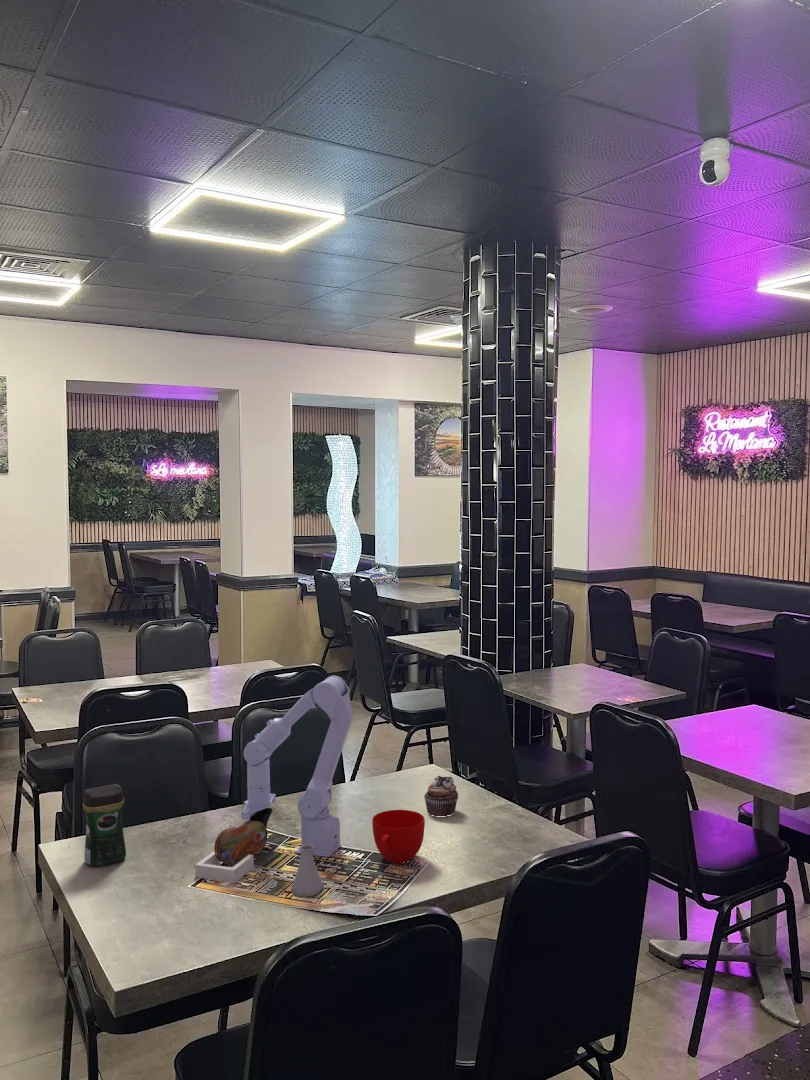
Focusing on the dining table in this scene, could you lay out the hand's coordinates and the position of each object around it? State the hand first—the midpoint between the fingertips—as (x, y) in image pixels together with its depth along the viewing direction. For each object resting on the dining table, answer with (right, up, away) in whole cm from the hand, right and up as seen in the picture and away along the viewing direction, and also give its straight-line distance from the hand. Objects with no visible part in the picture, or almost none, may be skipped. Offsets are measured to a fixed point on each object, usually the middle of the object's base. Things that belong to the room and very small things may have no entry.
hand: (259, 837), depth 222 cm
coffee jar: (-37, -3, -9) cm, 38 cm away
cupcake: (+48, -1, +23) cm, 53 cm away
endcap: (-5, -3, -16) cm, 17 cm away
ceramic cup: (+35, -2, -11) cm, 37 cm away
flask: (+15, -3, -26) cm, 31 cm away
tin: (-3, -2, -8) cm, 9 cm away
